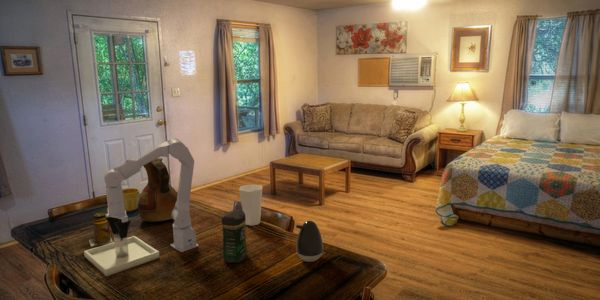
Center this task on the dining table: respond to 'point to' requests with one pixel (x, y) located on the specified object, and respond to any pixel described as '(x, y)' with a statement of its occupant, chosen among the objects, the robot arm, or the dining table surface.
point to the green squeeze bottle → (234, 236)
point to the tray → (111, 264)
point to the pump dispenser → (309, 242)
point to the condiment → (100, 230)
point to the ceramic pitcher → (157, 194)
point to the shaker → (120, 246)
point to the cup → (251, 203)
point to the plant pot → (131, 198)
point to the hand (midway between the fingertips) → (119, 235)
